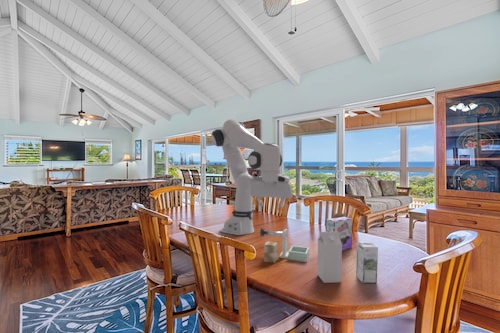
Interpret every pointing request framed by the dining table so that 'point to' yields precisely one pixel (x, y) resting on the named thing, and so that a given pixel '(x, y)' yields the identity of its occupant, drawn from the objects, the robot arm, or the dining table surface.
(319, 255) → the milk carton
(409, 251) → the dining table surface
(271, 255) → the block
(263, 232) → the shaft
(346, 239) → the candy box
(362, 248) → the syrup box
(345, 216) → the fruit
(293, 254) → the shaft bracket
